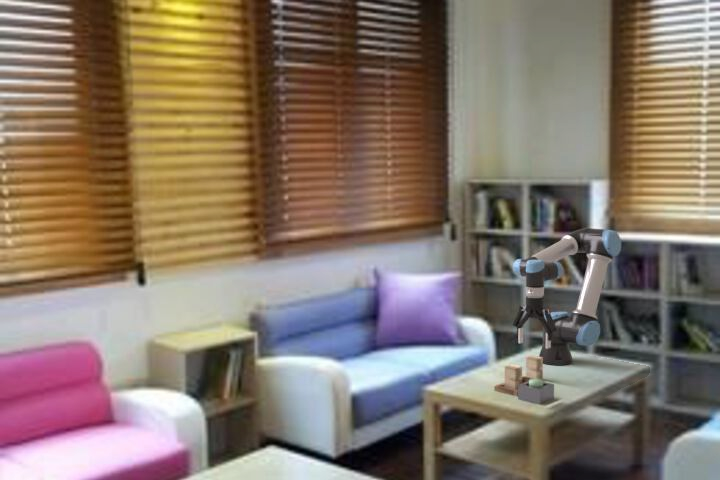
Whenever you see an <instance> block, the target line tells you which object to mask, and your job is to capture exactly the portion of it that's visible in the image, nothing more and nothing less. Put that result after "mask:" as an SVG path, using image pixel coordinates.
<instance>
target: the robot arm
mask: <svg viewBox="0 0 720 480" xmlns="http://www.w3.org/2000/svg"><path fill="white" fill-rule="evenodd" d="M621 250H622V239H621V237H620V235H619V233H618V232H617V231H616V230H611V229H607V228H604V229H603V228H590V227H585V228H580V229H576V230H574V231H572V232H569V233H567V234H565V235H564V236H562V238H561V239H560V240H559V241H557V242H556V243H554V244H552V245H550V246H548V247H547V248H544V249H542V250H541V251H538V252H536V253H535V254H533V255H531V256H530V257H527V258H518V259H516V260H515V261H514V262H513V265H512V271H513V273H514V275H516V276H519V277H522V278H525V295H526V296H525V305H520V306H519V308H518V309H519V310H518V312H517V315H516V317H515V319H514V321H513V323H512V325H513V327H516V335H517V336H518V337H517V338H518V341H517V342H518V344H523V343H524V327H523V326H524V325H525V324H526V322H527V321H528V320H529V319H534V320H535V319H536V320H538V321H539V322H540V324H541V325H542V346H541V349H540V352H539V354H538V357H543V364H544V365H551V366H566V365H570V364H572V363H573V355H572V352H571V349H570V346H569V343H570V344H575V345H579V346H586V347H590V346H592V345H593V344H596V341H597V340H598V339H599V336H600V334H601V325H600V323H599V322H598V316H597V315H596V312H597V308H598V304H599V301H600V296H601V293H602V290H603V289H602V288H603V285H604V280H605V276H606V272H607V269H608V264H610V263H611V262H613V258H614V257H618V256H619V254H620V252H621ZM578 253H579V254H581V253H582V254H583V253H584V254H585V253H586V257H587V258H588V261H587V265H586V270H585V273H584V276H583V277H584V278H583V281H582V285H581V290H580V293H579V297H578V301H577V304H576V308H575V309H574V310H573V311H571V314H570V313H569V312H568V311H552V312H551V309H550V308H548V309H544V306H545V305H544V304H545V302H544V301H545V298H544V296H545V293H544V292H545V282H547V281H555V280H558V279H561V278H562V277H563V274H564V267H563V265H562V264H561V263H560V262H559V261H560V260H562V259H564V258H566V257H568V256H569V255H570V256H574V255H576V254H578ZM525 311H526V312H525ZM525 313H526V314H525ZM523 315H524V316H523Z"/></svg>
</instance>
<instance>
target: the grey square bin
mask: <svg viewBox="0 0 720 480" xmlns="http://www.w3.org/2000/svg"><path fill="white" fill-rule="evenodd" d="M554 398H555V384H554V383H550V382H543V387H540V388H536V387H531V386H529V381H527V382H524V383H522V384H519V385H518V396H517V400H520V401H522V402H527V403H532V404H536V405H539V406H540V405H543V404H545V403H547V402H550V401H552V400H554Z"/></svg>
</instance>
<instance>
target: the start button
mask: <svg viewBox="0 0 720 480" xmlns="http://www.w3.org/2000/svg"><path fill="white" fill-rule="evenodd" d="M529 386H531V387H536V388H540V387H543V380H541V379H530V380H529Z"/></svg>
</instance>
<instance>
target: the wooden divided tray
mask: <svg viewBox="0 0 720 480" xmlns="http://www.w3.org/2000/svg"><path fill="white" fill-rule="evenodd" d="M530 379H535V378H531V377H526V375H522V383H524V382H527V381H529V380H530ZM543 382H545V380H543ZM493 390H494V392H498V393H502V394H506V395H511V396H513V397H514V396H515V397H518V389H517V390H514V389H509V388H505V381H503V382H501V383H499V384H496V385H494V389H493Z"/></svg>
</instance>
